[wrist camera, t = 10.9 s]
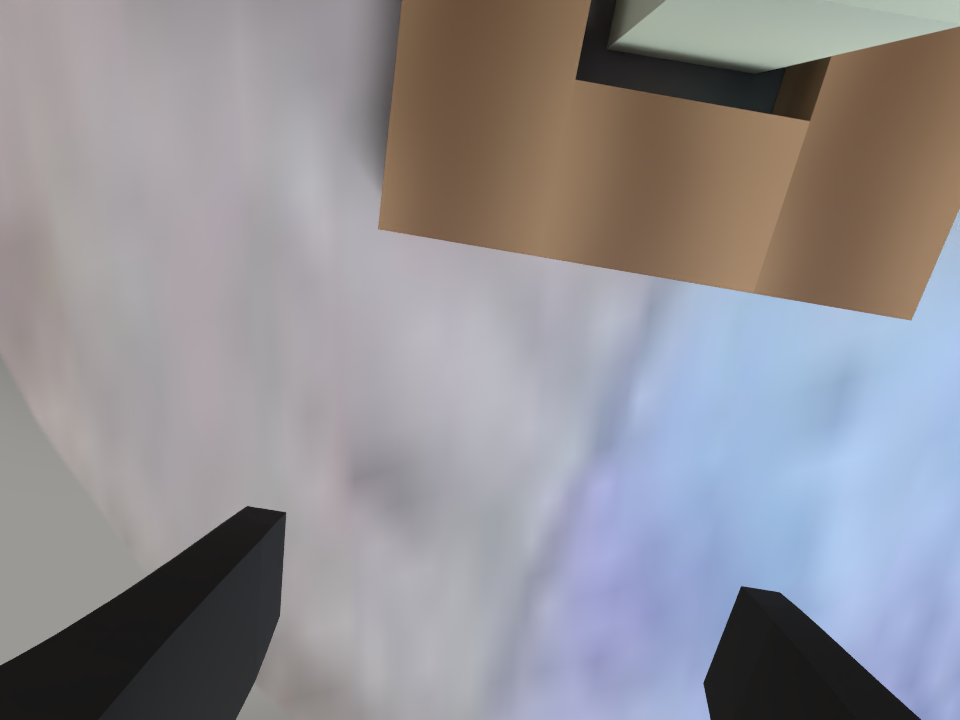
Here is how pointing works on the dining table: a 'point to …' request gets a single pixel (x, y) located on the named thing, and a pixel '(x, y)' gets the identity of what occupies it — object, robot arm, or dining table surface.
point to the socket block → (675, 160)
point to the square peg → (770, 29)
